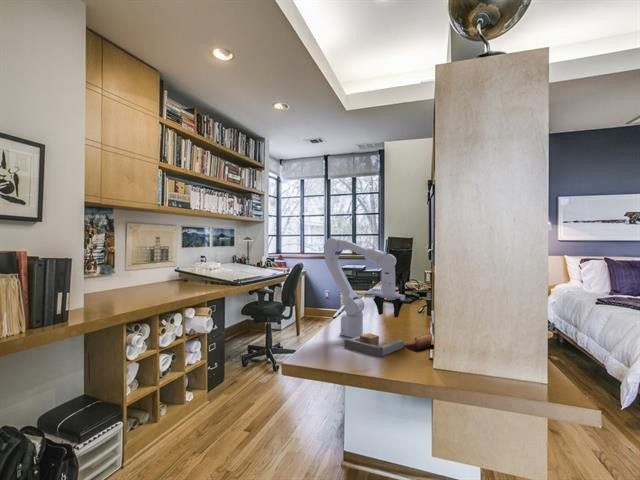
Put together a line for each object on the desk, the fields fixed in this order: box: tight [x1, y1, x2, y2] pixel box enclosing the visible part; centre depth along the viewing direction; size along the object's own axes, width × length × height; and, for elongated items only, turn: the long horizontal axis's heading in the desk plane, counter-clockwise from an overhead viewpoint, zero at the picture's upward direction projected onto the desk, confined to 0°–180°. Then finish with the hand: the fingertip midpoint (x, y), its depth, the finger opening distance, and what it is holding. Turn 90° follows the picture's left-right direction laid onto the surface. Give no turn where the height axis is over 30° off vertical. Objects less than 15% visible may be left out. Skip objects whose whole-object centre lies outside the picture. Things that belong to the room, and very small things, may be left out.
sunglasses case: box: [404, 333, 433, 352], centre depth 124 cm, size 18×7×7 cm, turn 127°
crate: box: [360, 333, 380, 346], centre depth 119 cm, size 5×5×5 cm
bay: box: [343, 332, 405, 358], centre depth 121 cm, size 16×16×3 cm
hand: (388, 315), depth 132 cm, fingers open, 7 cm apart
